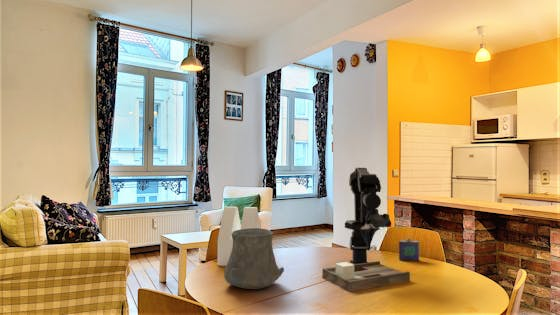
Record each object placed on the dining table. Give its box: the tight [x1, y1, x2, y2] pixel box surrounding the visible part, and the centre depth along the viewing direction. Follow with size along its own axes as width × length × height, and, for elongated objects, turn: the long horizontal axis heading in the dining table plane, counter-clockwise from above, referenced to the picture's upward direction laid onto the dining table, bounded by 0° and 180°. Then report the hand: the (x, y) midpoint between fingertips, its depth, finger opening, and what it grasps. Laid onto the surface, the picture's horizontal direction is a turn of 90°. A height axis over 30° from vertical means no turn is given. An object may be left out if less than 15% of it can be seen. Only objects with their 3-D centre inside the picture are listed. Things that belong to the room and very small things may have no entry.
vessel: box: [223, 228, 285, 290], centre depth 136 cm, size 22×22×20 cm
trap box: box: [321, 260, 411, 293], centre depth 143 cm, size 18×28×4 cm, turn 115°
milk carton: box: [217, 206, 262, 267], centre depth 171 cm, size 19×15×25 cm
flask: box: [398, 237, 420, 262], centre depth 172 cm, size 9×3×11 cm, turn 87°
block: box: [335, 261, 354, 279], centre depth 139 cm, size 5×5×4 cm
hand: (368, 245), depth 145 cm, fingers closed
